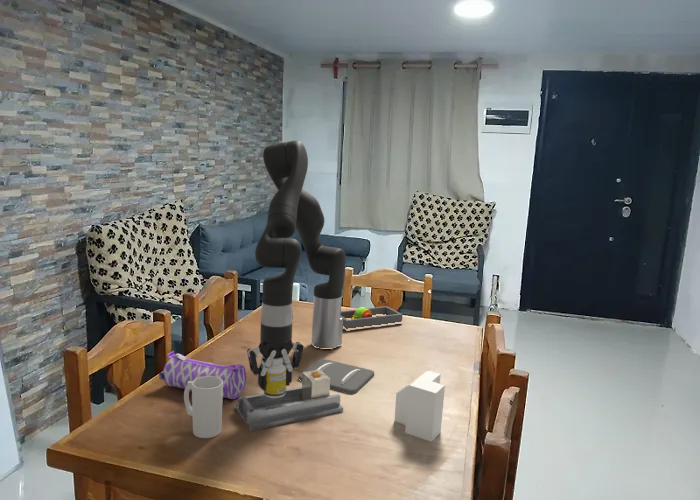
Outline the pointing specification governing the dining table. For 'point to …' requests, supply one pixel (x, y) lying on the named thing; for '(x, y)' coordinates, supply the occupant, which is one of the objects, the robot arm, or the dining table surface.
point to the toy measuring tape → (362, 313)
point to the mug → (205, 405)
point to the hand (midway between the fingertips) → (274, 386)
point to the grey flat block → (342, 375)
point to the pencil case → (203, 374)
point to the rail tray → (291, 403)
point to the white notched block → (421, 406)
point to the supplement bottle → (276, 379)
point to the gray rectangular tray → (390, 317)
